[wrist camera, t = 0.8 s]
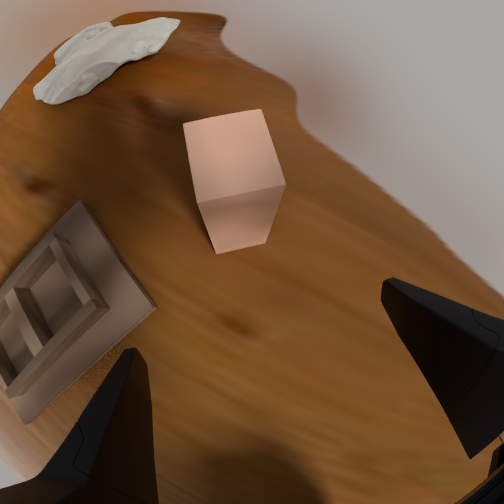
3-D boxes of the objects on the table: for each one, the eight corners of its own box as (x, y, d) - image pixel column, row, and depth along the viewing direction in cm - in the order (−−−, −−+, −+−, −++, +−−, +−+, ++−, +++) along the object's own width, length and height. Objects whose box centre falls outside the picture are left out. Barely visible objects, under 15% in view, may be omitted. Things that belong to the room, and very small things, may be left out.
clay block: (265, 243, 23) (285, 184, 13) (216, 254, 23) (197, 203, 12) (251, 192, 24) (260, 109, 14) (205, 202, 24) (182, 123, 13)
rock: (124, 130, 26) (193, 37, 27) (104, 106, 21) (184, 10, 23) (27, 111, 28) (83, 37, 30) (9, 96, 24) (71, 19, 25)
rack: (157, 307, 22) (142, 306, 18) (31, 422, 19) (10, 431, 15) (85, 204, 24) (66, 188, 20) (-20, 327, 20) (-42, 326, 17)
